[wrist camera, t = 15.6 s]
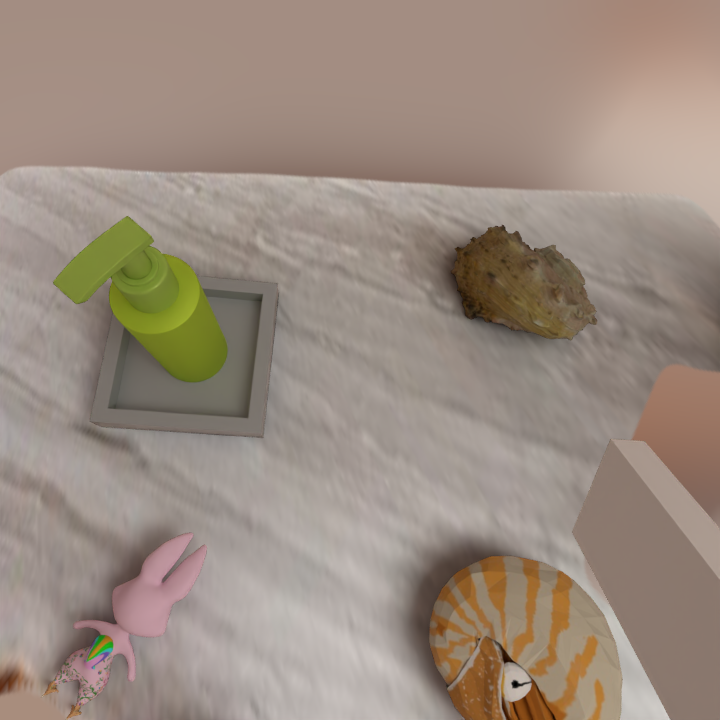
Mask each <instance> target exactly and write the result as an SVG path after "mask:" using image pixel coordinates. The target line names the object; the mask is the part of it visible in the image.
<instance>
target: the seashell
mask: <svg viewBox="0 0 720 720" xmlns="http://www.w3.org/2000/svg"><path fill="white" fill-rule="evenodd" d="M455 250H456V251H457V256H458V257H457V260H456V261H455V268H454V269H453V270H452V271H451V273H452V274H454V275H456V281H457V283H458V289H457V291H460V293H461V296H462V298H463V302H462V304H463V306H464V308H465V315H466V316H467V317H468V318H469V319H471V320H472V319H474V318H476V317H478V316H479V317H482V318H484V320H485V322H490V321H492V322H494V323H497V324H499V323H503V324H504V325H506V326H507V327H509V329H511V330H516V331H517V330H524V331H526V332H534V333H536V334H538V335H541V336H543V337H545V338H549V339H556V338H558V339H562V338H567V339H569V340H572V339H573V336H574V335H577V333H578V332H579V331H581V330H583V328H584V327H585V325H587V324H588V323H590V324H593V325H596V324H597V319H596V318H595V317H594V316H593V315H594V314H595V313H596V310H595V307H594V305H592V304H590V301H589V300H588V298H587V293H586V290H585V289H584V288H583V285H585V280H584V278H583V277H582V275H581V273H580V270H578V269H577V267H576V266H575V265H574V264H573V263H572V262H571V261H570V260H569V259H564V258H563V255H562V254H561V253H559V252H558V251H557V250H556V245H551V246H548V247H546V248H542V249H538V248H534V251H533V250H531V249H530V247H529V245H526V244H525V242H522V238H521V236H520V234H519V232H518V231H515V232H514V233H512V234H509V233H508V232H507V231H506V230H505V227H504V225H502V226H500V227H498V226H495V227H493V228H492V227H490V228H488V231H487V232H486V233H485V234H483V235H481V237H479V238H478V239H476V238H474V237H473V238H472V239H471V242H470V244H468V245H467V246H466V247H465V248H463V249H462V248H459V247H456V248H455Z"/></svg>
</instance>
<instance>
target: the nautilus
mask: <svg viewBox="0 0 720 720" xmlns="http://www.w3.org/2000/svg"><path fill="white" fill-rule="evenodd" d="M429 644H430V647H431V651H432V654H433V658H434V661H435V665H436V667H437V669H438V670H439V672H440V674H441V675H442V677H443V678H444V680H445V681H446V686H447V690H448V693H449V695H450V697H451V699H452V702H453V704H454V706H455V708H456V709H457V710H458V711H459V712H460V714H461V715H462V716H463V717H464V718H465V720H620V715H621V689H622V680H623V679H622V673H621V668H620V663H619V657H618V652H617V646H616V643H615V640H614V638H613V635H612V633H611V630H610V628H609V626H608V623H607V621H606V618H605V616H604V614H603V613H602V612H601V610H600V609H599V608H598V606H597V605H596V604H595V602H594V601H593V599H592V598H591V597H590V596H589V595H588V594H587V593H586V592H585V591H584V590H583V589H582V588H581V587H580V586H579V585H578V584H577V583H576V582H575V581H574V580H573V579H571V578H570V577H568V576H567V575H566V574H564V573H563V572H561V571H559V570H557V569H555V568H553V567H551V566H549V565H547V564H545V563H543V562H539V561H534V560H529V559H524V558H519V557H515V556H490V557H488V558H485V559H483V560H480V561H478V562H476V563H473V564H471V565H469V566H468V567H466V568H464V569H462V570H460V571H459V572H457V573H456V574H455V575H453V576H452V578H451V579H450V580H449V581H448V582H447V583H446V585H445V586H444V587H443V588H442V590H441V592H440V594H439V596H438V598H437V600H436V602H435V604H434V607H433V612H432V616H431V620H430V634H429Z"/></svg>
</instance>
